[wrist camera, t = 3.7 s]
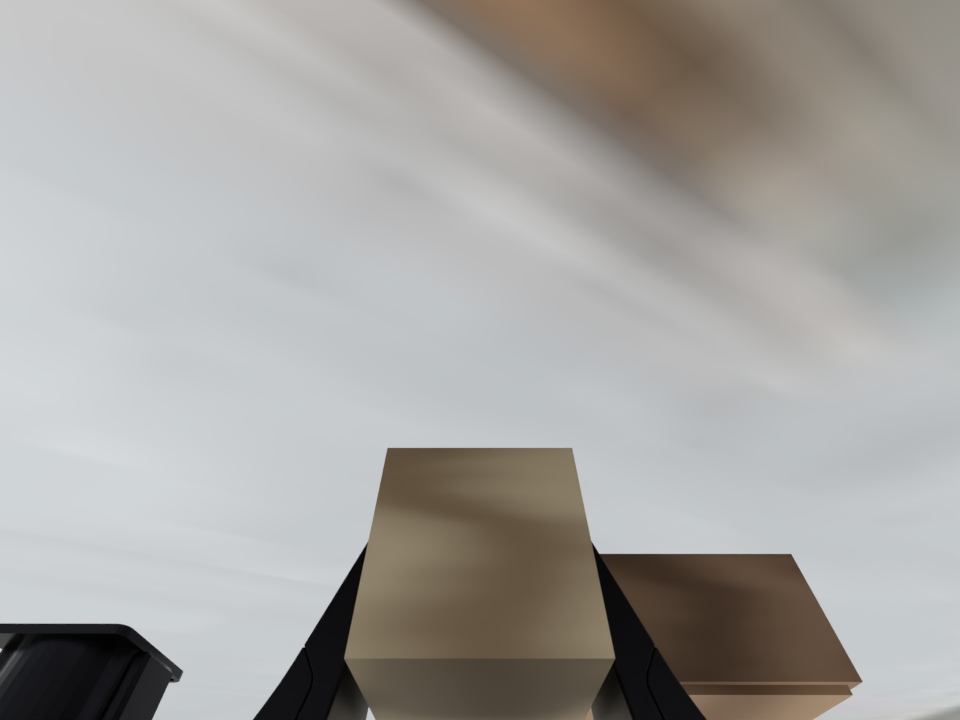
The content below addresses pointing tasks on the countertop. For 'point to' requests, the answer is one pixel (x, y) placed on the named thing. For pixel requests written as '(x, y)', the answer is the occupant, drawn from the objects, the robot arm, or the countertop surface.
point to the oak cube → (479, 590)
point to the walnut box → (738, 633)
